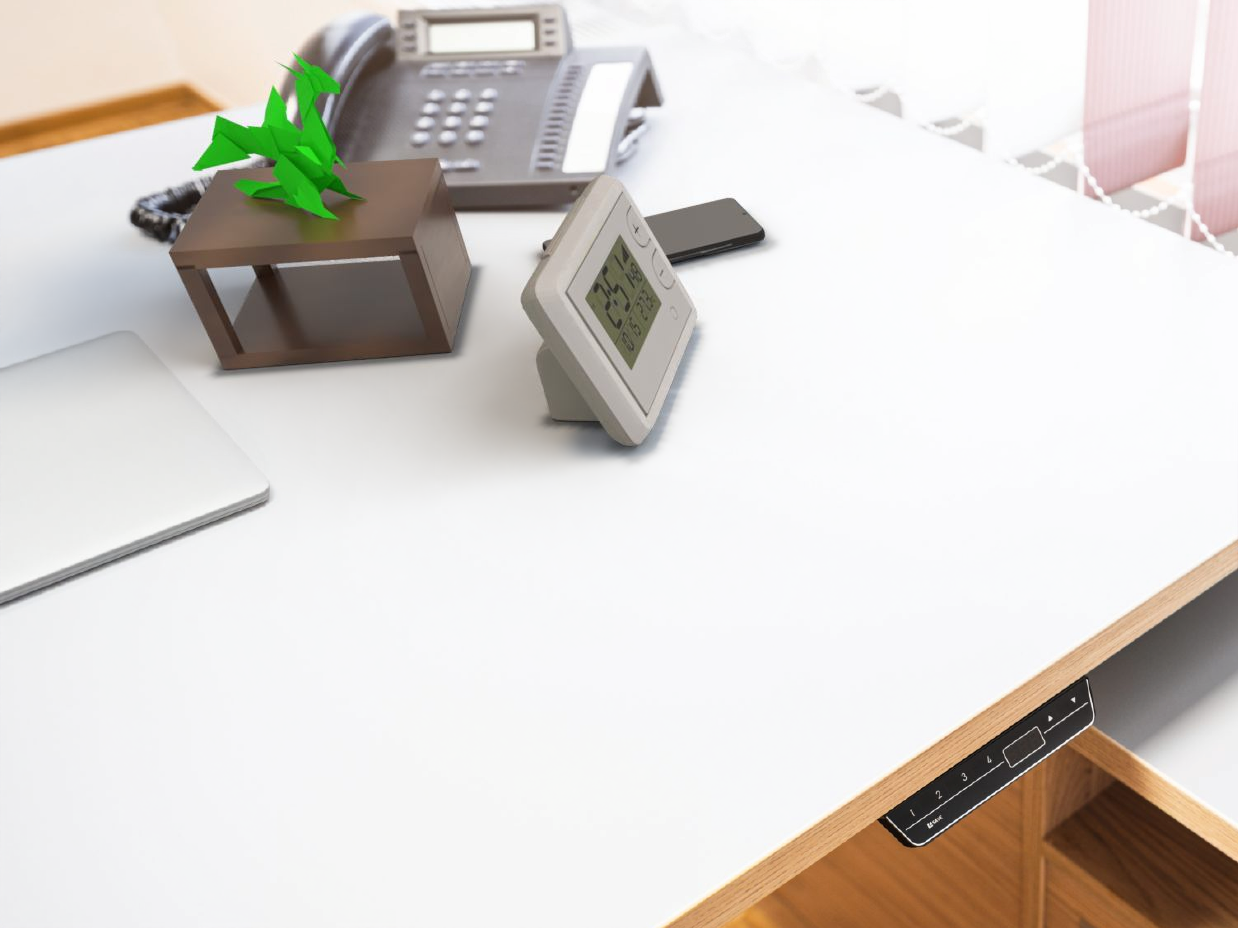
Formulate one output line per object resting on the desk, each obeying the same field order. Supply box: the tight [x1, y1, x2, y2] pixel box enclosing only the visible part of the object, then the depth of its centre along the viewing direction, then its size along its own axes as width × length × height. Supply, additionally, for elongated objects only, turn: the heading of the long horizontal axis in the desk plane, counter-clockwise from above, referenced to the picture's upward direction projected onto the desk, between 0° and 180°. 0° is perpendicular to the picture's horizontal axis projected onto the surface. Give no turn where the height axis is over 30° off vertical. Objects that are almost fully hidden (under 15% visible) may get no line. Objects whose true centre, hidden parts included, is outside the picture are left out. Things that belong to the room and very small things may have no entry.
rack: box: [168, 157, 473, 370], centre depth 88 cm, size 14×12×8 cm
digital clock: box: [520, 173, 698, 447], centre depth 81 cm, size 16×9×11 cm, turn 168°
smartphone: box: [542, 197, 766, 264], centre depth 98 cm, size 7×1×15 cm
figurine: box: [191, 52, 367, 220], centre depth 82 cm, size 6×12×9 cm, turn 75°
